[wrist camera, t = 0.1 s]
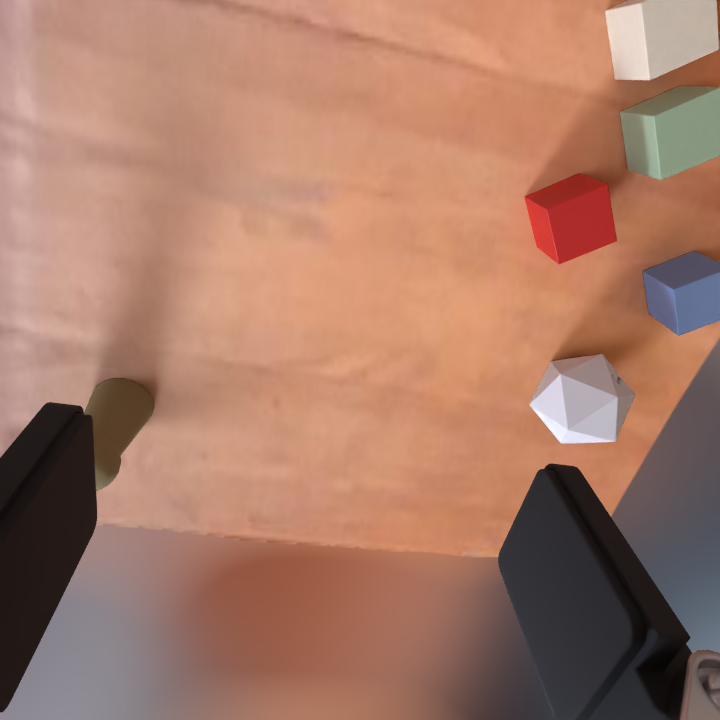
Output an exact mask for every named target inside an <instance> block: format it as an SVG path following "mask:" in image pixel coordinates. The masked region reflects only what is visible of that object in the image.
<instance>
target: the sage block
mask: <svg viewBox="0 0 720 720" xmlns="http://www.w3.org/2000/svg"><path fill="white" fill-rule="evenodd" d="M620 118H621V125H622V132H623V139H624V146H625V153H626V160H627V167H628V170H629V171H633V172H636V173H639V174H642V175H646V176H649V177H652V178H655V179H659V180H663V179H665V178H668V177H670V176H672V175H675V174H677V173H680V172H682V171H684V170H687V169H689V168H692V167H694V166H696V165H699V164H701V163H704V162H706V161H708V160H711V159H713V158H716V157H718V156H720V87H704V86H678V87H675V88H673V89H671V90H669V91H666V92H664V93H662V94H659V95H657V96H655V97H653V98H650V99H648V100H646V101H643V102H641V103H639V104H637V105H634V106H632V107H630V108H627V109H625V110H623V111H621V112H620Z"/></svg>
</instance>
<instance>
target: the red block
mask: <svg viewBox="0 0 720 720" xmlns="http://www.w3.org/2000/svg"><path fill="white" fill-rule="evenodd" d="M525 200H526V205H527V209H528V213H529V217H530V221H531V225H532V229H533V233H534V237H535V241H536V245H537V247H538V248H539V249H540V250H541V251H543V252H544V253H545V254H546V255H548V256H549V257H550V258H552V259H553V260H554V261H555V262H557V263H558V264H561V263H564V262H566V261H569V260H571V259H574V258H576V257H579V256H581V255H583V254H586V253H588V252H591V251H593V250H596V249H598V248H601V247H603V246H606V245H608V244H611V243H613V242H616V241H617V238H616V232H615V226H614V220H613V214H612V208H611V202H610V196H609V190H608V184H607V183H604V182H601V181H599V180H596V179H593V178H591V177H588V176H585V175H583V174H580V173H579V174H577V175H574V176H572V177H570V178H567V179H565V180H563V181H560V182H558V183H556V184H553V185H551V186H549V187H546V188H544V189H542V190H539V191H537V192H534V193H532V194H530V195H527V196H525Z"/></svg>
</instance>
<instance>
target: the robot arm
mask: <svg viewBox="0 0 720 720" xmlns="http://www.w3.org/2000/svg"><path fill="white" fill-rule="evenodd" d="M96 521H97V500H96V478H95V457H94V435H93V419H92V416H91V415H87V414H84V412H83V409H82V407H81V406H76V405H68V404H60V403H52V402H49V403H46V404H45V405H44V406H43V407H42V408H41V410H40V411H39V412H38V413H37V414H36V416H35V417H34V418H33V419H32V420H31V422H30V423H29V424H28V425H27V426H26V428H25V429H24V430H23V431H22V433H21V434H20V435H19V436H18V437H17V439H16V440H15V441H14V442H13V443H12V445H11V446H10V447H9V448H8V449H7V451H6V452H5V453H4V454H3V455H2V457H1V458H0V712H3V711H4V710H5V709H6V708H7V706H8V705H9V703H10V701H11V699H12V698H13V695H14V693H15V691H16V689H17V687H18V685H19V683H20V681H21V679H22V677H23V675H24V673H25V671H26V669H27V667H28V665H29V663H30V661H31V659H32V656H33V655H34V653H35V651H36V649H37V647H38V645H39V643H40V641H41V638H42V636H43V634H44V632H45V630H46V628H47V626H48V624H49V622H50V620H51V618H52V616H53V614H54V612H55V610H56V608H57V606H58V604H59V602H60V600H61V598H62V596H63V594H64V592H65V590H66V587H67V586H68V583H69V582H70V579H71V577H72V575H73V573H74V571H75V569H76V567H77V565H78V563H79V561H80V559H81V557H82V555H83V553H84V551H85V549H86V547H87V545H88V543H89V540H90V539H91V537H92V535H93V532H94V529H95V526H96ZM498 562H499V568H500V572H501V574H502V577H503V580H504V582H505V585H506V588H507V591H508V594H509V596H510V599H511V602H512V604H513V607H514V610H515V612H516V615H517V618H518V621H519V623H520V626H521V629H522V631H523V634H524V637H525V640H526V642H527V645H528V648H529V651H530V653H531V656H532V659H533V662H534V664H535V667H536V670H537V673H538V675H539V678H540V681H541V683H542V686H543V689H544V692H545V694H546V697H547V700H548V702H549V705H550V708H551V711H552V713H553V716H554V719H555V720H720V653H718V652H714V651H710V650H698V651H696V652H694V653H693V654H692V652H691V651H690V649H689V648H688V646H687V645H686V643H687V642H688V640H689V639H690V636H689V635H688V633H687V632H686V630H685V629H684V627H683V626H682V624H681V623H680V621H679V620H678V618H677V617H676V615H675V613H674V612H673V611H672V609H671V607H670V606H669V604H668V603H667V601H666V600H665V598H664V597H663V595H662V594H661V592H660V591H659V589H658V588H657V586H656V585H655V583H654V582H653V580H652V579H651V577H650V576H649V574H648V573H647V571H646V570H645V568H644V567H643V565H642V564H641V562H640V561H639V559H638V558H637V556H636V555H635V553H634V552H633V550H632V548H631V547H630V545H629V544H628V543H627V541H626V539H625V538H624V536H623V535H622V533H621V532H620V530H619V529H618V527H617V526H616V524H615V523H614V522H613V520H612V518H611V517H610V515H609V514H608V512H607V511H606V509H605V508H604V506H603V505H602V503H601V502H600V500H599V499H598V497H597V496H596V494H595V493H594V491H593V490H592V488H591V487H590V485H589V484H588V482H587V480H586V479H585V477H584V476H583V474H582V473H581V471H580V470H579V469H578V468H577V467H574V466H567V465H559V464H548V465H547V466H546V467H545V468H544V469H540V470H539V471H538V472H537V474H536V476H535V478H534V480H533V482H532V485H531V487H530V489H529V491H528V493H527V495H526V497H525V499H524V501H523V504H522V506H521V508H520V510H519V512H518V514H517V516H516V518H515V520H514V523H513V525H512V527H511V529H510V531H509V533H508V535H507V537H506V539H505V541H504V544H503V546H502V548H501V550H500V553H499V557H498Z"/></svg>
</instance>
